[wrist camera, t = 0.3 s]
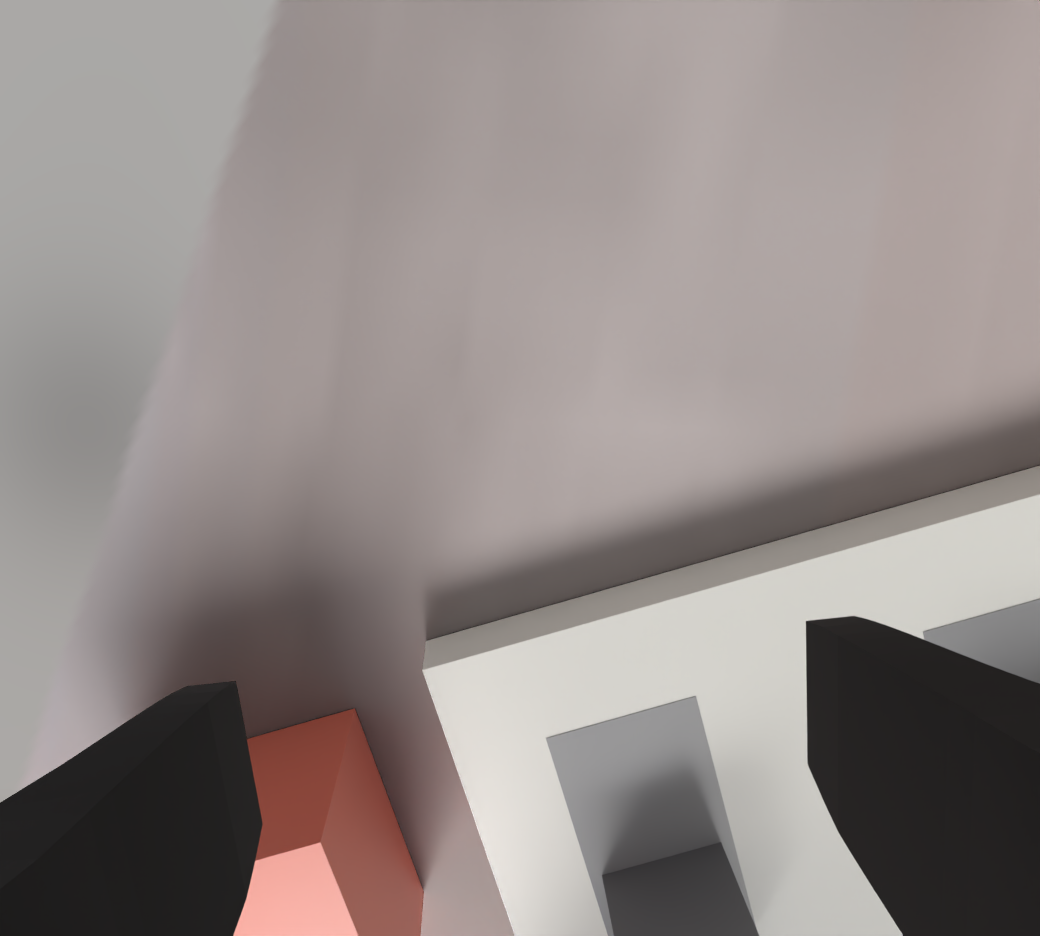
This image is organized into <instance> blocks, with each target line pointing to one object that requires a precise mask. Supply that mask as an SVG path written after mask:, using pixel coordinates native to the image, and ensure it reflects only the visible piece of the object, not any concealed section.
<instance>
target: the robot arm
mask: <svg viewBox="0 0 1040 936" xmlns="http://www.w3.org/2000/svg"><path fill="white" fill-rule="evenodd" d="M806 680H807V764H808V766H809V769H810V771H811V773H812V776H813V778H814V780H815V782H816V785H817V787H818V789H819V792H820V794H821V796H822V799H823V801H824V803H825V805H826V807H827V809H828V812H829V814H830V816H831V818H832V820H833V822H834V824H835V826H836V828H837V831H838V833H839V834H840V836H841V838H842V839H843V841H844V843H845V844H846V846H847V847H848V849H849V851H850V852H851V854H852V856H853V857H854V859H855V860H856V862H857V864H858V865H859V867H860V868H861V870H862V872H863V873H864V875H865V876H866V878H867V880H868V881H869V883H870V884H871V886H872V888H873V889H874V891H875V892H876V894H877V895H878V897H879V898H880V900H881V902H882V903H883V905H884V906H885V908H886V909H887V911H888V913H889V914H890V916H891V917H892V919H893V920H894V922H895V924H896V925H897V927H898V928H899V930H900V931H901V933H902V935H903V936H1040V683H1037V682H1034V681H1031V680H1028V679H1025V678H1023V677H1020V676H1017V675H1014V674H1012V673H1009V672H1006V671H1003V670H1001V669H998V668H995V667H993V666H990V665H988V664H985V663H982V662H980V661H977V660H975V659H972V658H969V657H967V656H964V655H962V654H959V653H957V652H954V651H952V650H949V649H946V648H944V647H941V646H939V645H936V644H934V643H931V642H929V641H926V640H924V639H921V638H918V637H916V636H913V635H911V634H908V633H906V632H903V631H900V630H898V629H895V628H892V627H889V626H887V625H884V624H881V623H878V622H875V621H872V620H868V619H865V618H861V617H856V616H848V617H838V618H829V619H819V620H810V621H806ZM262 825H263V823H262V817H261V812H260V807H259V801H258V796H257V791H256V785H255V780H254V775H253V770H252V764H251V759H250V754H249V748H248V743H247V738H246V733H245V727H244V722H243V717H242V711H241V706H240V701H239V695H238V690H237V685H236V681H232V682H223V683H213V684H204V685H194V686H187V687H184V688H182V689H180V690H178V691H176V692H174V693H172V694H170V695H169V696H167V697H165V698H163V699H162V700H160V701H158V702H157V703H155V704H154V705H152V706H150V707H149V708H147V709H146V710H144V711H143V712H141V713H140V714H138V715H136V716H135V717H133V718H132V719H130V720H129V721H127V722H126V723H124V724H123V725H121V726H120V727H118V728H117V729H115V730H114V731H112V732H111V733H109V734H108V735H106V736H105V737H103V738H102V739H100V740H99V741H97V742H96V743H94V744H93V745H91V746H90V747H88V748H87V749H85V750H84V751H82V752H81V753H79V754H77V755H76V756H74V757H73V758H71V759H70V760H68V761H67V762H65V763H64V764H62V765H61V766H59V767H58V768H56V769H54V770H53V771H51V772H49V773H48V774H46V775H44V776H43V777H41V778H40V779H38V780H36V781H35V782H33V783H31V784H30V785H28V786H27V787H25V788H23V789H22V790H20V791H18V792H17V793H15V794H14V795H12V796H10V797H9V798H7V799H5V800H4V801H3V802H1V803H0V936H233V935H234V932H235V930H236V927H237V924H238V921H239V919H240V916H241V913H242V910H243V907H244V904H245V901H246V898H247V894H248V890H249V886H250V881H251V877H252V873H253V869H254V864H255V859H256V854H257V850H258V845H259V840H260V835H261V830H262Z"/></svg>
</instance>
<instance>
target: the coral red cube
mask: <svg viewBox="0 0 1040 936" xmlns="http://www.w3.org/2000/svg"><path fill="white" fill-rule="evenodd" d="M247 743H248V748H249V754H250V759H251V764H252V770H253V775H254V780H255V785H256V791H257V796H258V801H259V807H260V812H261V817H262V823H263V825H262V830H261V835H260V840H259V845H258V850H257V854H256V859H255V864H254V869H253V873H252V877H251V881H250V886H249V890H248V894H247V898H246V901H245V904H244V907H243V910H242V913H241V916H240V919H239V921H238V924H237V927H236V930H235V932H234V935H233V936H420V934H421V921H422V908H423V895H424V891H423V889H422V886H421V883H420V881H419V878H418V875H417V873H416V870H415V867H414V865H413V862H412V859H411V857H410V854H409V851H408V849H407V846H406V843H405V841H404V838H403V835H402V833H401V830H400V827H399V825H398V822H397V819H396V817H395V814H394V811H393V809H392V806H391V803H390V801H389V798H388V795H387V793H386V790H385V787H384V785H383V782H382V779H381V777H380V774H379V771H378V769H377V766H376V763H375V761H374V758H373V755H372V753H371V750H370V747H369V745H368V742H367V739H366V737H365V734H364V732H363V729H362V726H361V724H360V721H359V718H358V716H357V713H356V710H355V708H354V709H351V710H347V711H344V712H340V713H337V714H333V715H330V716H326V717H323V718H319V719H315V720H312V721H308V722H305V723H301V724H298V725H294V726H291V727H287V728H284V729H280V730H277V731H273V732H270V733H266V734H263V735H259V736H256V737H252V738H249V739H247Z"/></svg>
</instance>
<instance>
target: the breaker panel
mask: <svg viewBox="0 0 1040 936" xmlns="http://www.w3.org/2000/svg"><path fill="white" fill-rule="evenodd" d="M848 616H856V617H861V618H865V619H868V620H872V621H875V622H878V623H881V624H884V625H887V626H889V627H892V628H895V629H898V630H900V631H903V632H906V633H908V634H911V635H913V636H916V637H918V638H921V639H924V640H926V641H929V642H931V643H934V644H936V645H939V646H941V647H944V648H946V649H949V650H952V651H954V652H957V653H959V654H962V655H964V656H967V657H969V658H972V659H975V660H977V661H980V662H982V663H985V664H988V665H990V666H993V667H995V668H998V669H1001V670H1003V671H1006V672H1009V673H1012V674H1014V675H1017V676H1020V677H1023V678H1025V679H1028V680H1031V681H1034V682H1037V683H1040V466H1036V467H1033V468H1029V469H1026V470H1022V471H1019V472H1015V473H1012V474H1008V475H1005V476H1001V477H998V478H994V479H991V480H987V481H984V482H980V483H977V484H973V485H970V486H966V487H963V488H959V489H956V490H952V491H949V492H945V493H942V494H938V495H935V496H931V497H928V498H924V499H921V500H917V501H914V502H910V503H907V504H903V505H900V506H897V507H893V508H890V509H886V510H883V511H879V512H876V513H872V514H869V515H865V516H862V517H858V518H855V519H851V520H848V521H844V522H841V523H837V524H834V525H830V526H827V527H823V528H820V529H816V530H813V531H809V532H806V533H802V534H799V535H795V536H792V537H788V538H785V539H781V540H778V541H774V542H771V543H767V544H764V545H760V546H757V547H753V548H750V549H746V550H743V551H739V552H736V553H732V554H729V555H725V556H722V557H718V558H715V559H711V560H708V561H704V562H701V563H697V564H694V565H690V566H687V567H683V568H680V569H676V570H673V571H669V572H666V573H662V574H659V575H655V576H652V577H648V578H645V579H641V580H638V581H634V582H631V583H627V584H624V585H620V586H617V587H613V588H610V589H606V590H603V591H599V592H596V593H592V594H589V595H585V596H582V597H578V598H575V599H571V600H568V601H564V602H561V603H557V604H554V605H550V606H547V607H543V608H540V609H536V610H533V611H529V612H526V613H522V614H519V615H515V616H512V617H508V618H505V619H501V620H498V621H494V622H491V623H487V624H484V625H480V626H477V627H473V628H470V629H466V630H463V631H459V632H456V633H452V634H449V635H445V636H442V637H438V638H435V639H431V640H428V641H426V644H425V652H424V660H423V668H422V671H423V674H424V677H425V680H426V682H427V685H428V688H429V691H430V694H431V697H432V700H433V703H434V705H435V708H436V711H437V714H438V717H439V720H440V723H441V726H442V728H443V731H444V734H445V737H446V740H447V743H448V746H449V748H450V751H451V754H452V757H453V760H454V763H455V766H456V769H457V771H458V774H459V777H460V780H461V783H462V786H463V789H464V792H465V794H466V797H467V800H468V803H469V806H470V809H471V812H472V814H473V817H474V820H475V823H476V826H477V829H478V832H479V835H480V837H481V840H482V843H483V846H484V849H485V852H486V855H487V858H488V860H489V863H490V866H491V869H492V872H493V875H494V878H495V880H496V883H497V886H498V889H499V892H500V895H501V898H502V901H503V903H504V906H505V909H506V912H507V915H508V918H509V921H510V924H511V926H512V929H513V932H514V935H515V936H903V935H902V933H901V931H900V930H899V928H898V927H897V925H896V924H895V922H894V920H893V919H892V917H891V916H890V914H889V913H888V911H887V909H886V908H885V906H884V905H883V903H882V902H881V900H880V898H879V897H878V895H877V894H876V892H875V891H874V889H873V888H872V886H871V884H870V883H869V881H868V880H867V878H866V876H865V875H864V873H863V872H862V870H861V868H860V867H859V865H858V864H857V862H856V860H855V859H854V857H853V856H852V854H851V852H850V851H849V849H848V847H847V846H846V844H845V843H844V841H843V839H842V838H841V836H840V834H839V833H838V831H837V828H836V826H835V824H834V822H833V820H832V818H831V816H830V814H829V812H828V809H827V807H826V805H825V803H824V801H823V799H822V796H821V794H820V792H819V789H818V787H817V785H816V782H815V780H814V778H813V776H812V773H811V771H810V769H809V766H808V764H807V680H806V621H810V620H819V619H829V618H838V617H848Z"/></svg>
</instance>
